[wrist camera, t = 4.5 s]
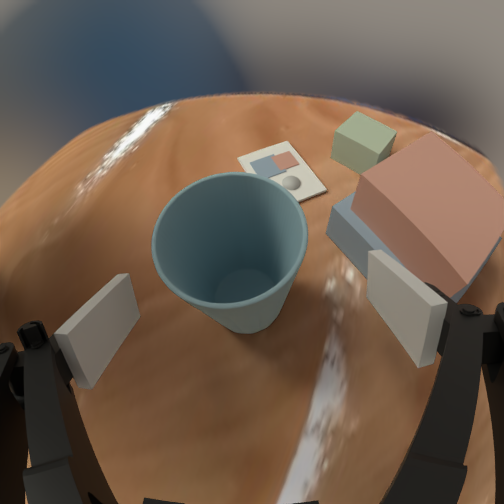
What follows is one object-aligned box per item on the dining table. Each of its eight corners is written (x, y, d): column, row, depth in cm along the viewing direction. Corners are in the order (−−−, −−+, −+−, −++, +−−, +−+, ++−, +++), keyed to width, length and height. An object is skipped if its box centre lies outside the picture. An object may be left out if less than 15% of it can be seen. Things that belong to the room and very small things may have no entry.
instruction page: (237, 159, 30) (237, 157, 30) (287, 142, 31) (287, 140, 31) (270, 213, 27) (270, 210, 26) (326, 191, 28) (326, 188, 27)
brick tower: (325, 233, 25) (340, 170, 18) (404, 178, 28) (427, 121, 21) (415, 337, 20) (469, 307, 13) (481, 258, 23) (524, 214, 16)
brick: (330, 158, 30) (334, 130, 26) (351, 137, 31) (356, 111, 28) (370, 181, 28) (379, 154, 25) (388, 157, 30) (397, 131, 26)
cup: (253, 239, 26) (239, 150, 16) (315, 303, 23) (341, 234, 13) (182, 294, 24) (128, 227, 15) (240, 367, 21) (211, 344, 12)
